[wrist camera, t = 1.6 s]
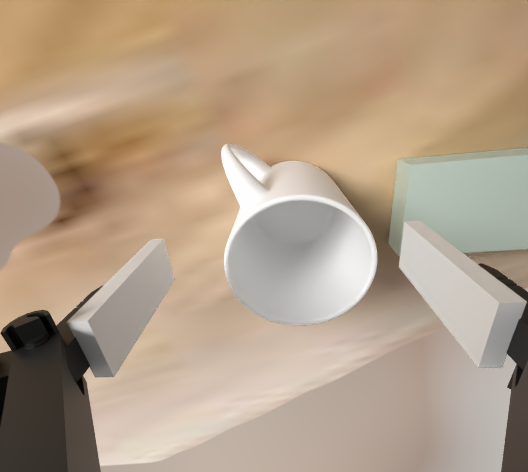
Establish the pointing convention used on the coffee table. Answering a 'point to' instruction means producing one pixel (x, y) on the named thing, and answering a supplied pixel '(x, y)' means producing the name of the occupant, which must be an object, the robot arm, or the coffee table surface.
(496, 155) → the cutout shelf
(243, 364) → the coffee table surface
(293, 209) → the mug
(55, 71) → the coffee table surface
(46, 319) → the robot arm
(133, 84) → the coffee table surface
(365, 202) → the coffee table surface
